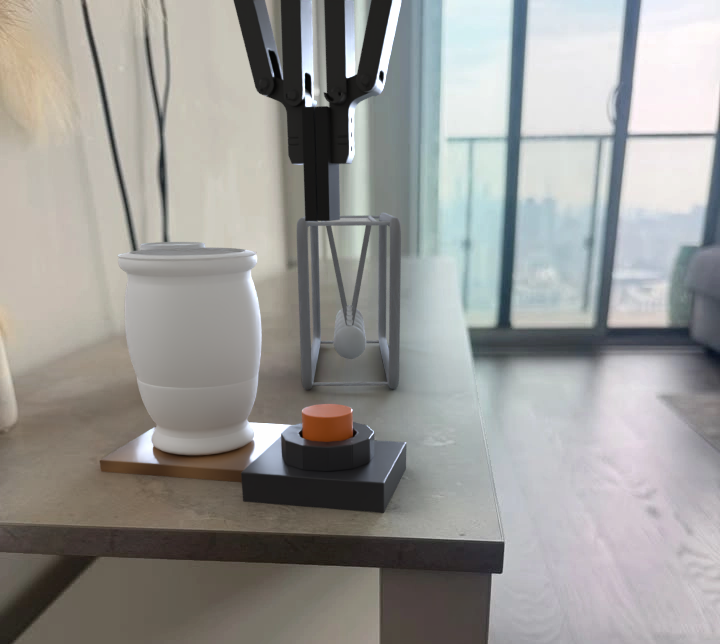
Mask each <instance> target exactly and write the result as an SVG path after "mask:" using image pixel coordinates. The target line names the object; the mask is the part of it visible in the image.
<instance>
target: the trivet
mask: <svg viewBox="0 0 720 644" xmlns="http://www.w3.org/2000/svg"><path fill="white" fill-rule="evenodd" d="M249 423H250V425H251V426H252V428H253V430H254V438H253V439H252V441H251V442H249V443H248V444H246V445H245V446H243V447H240V448H238V449H235V450H231V451H228V452H223V453H218V454H209V455H178V454H172V453H168V452H164V451H161V450H159V449H157V448H156V447H155V446H154V445H153V444H152V441H151V438H152V434H153V432H154V430H155V428H156V425H155V426H153V427H152V428H150V429H148V430H147V431H145V432H143V433H142V434H141V435H139V436H137V437H135V438H134V439H132V440H130V441H129V442H127V443H125V444H123V445H121V446H120V447H118V448H117V449H115V450H114V451H112V452H110V453H109V454H107V455H105V456H104V457H102V458H100V459H99V467H100V472H103V473H117V474H129V475H141V476H142V475H143V476H156V477H167V478H178V479H179V478H180V479H181V478H182V479H192V480H193V479H194V480H205V481H206V480H207V481H219V482H234V483H242V480H241V472H242V471H243V470H244V469H246V468H247V467H248V466H249V465H250V464H251V463H252V462H253V461H254V460H255V459H256V458H257V457H259V456H260V455H261V454H262V453H263V452H264V451H265V450H266V449H267V448H268V447H269V446H270V445H272V444H273V443H274V442H275V441H276V440H277V439H278V438H279V437H280V436H281V433H282V432H283V431H284V430H285V429H286V428H287V427H289V426H292V425H293V424H281V423H263V422H249Z"/></svg>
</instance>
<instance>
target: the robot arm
mask: <svg viewBox="0 0 720 644" xmlns="http://www.w3.org/2000/svg"><path fill="white" fill-rule="evenodd" d="M232 1H233V4H234V8H235V12H236V15H237V20H238V25H239V29H240V33H241V36H242V40H243V44H244V48H245V51H246V55H247V61H248V64H249V68H250V72H251V76H252V79H253V83H254V88H255V90H256V92H257V93H258V94H259V95H262V96H264V97H266V98H268V99H269V98H270V99H272V100H274V101H278V102H279V103H280V104H282V105H283V107H284V108H285V112H286V130H287V155H288V158H289V161H290V164H291V165H297V166H303V195H304V217H305V221H318V222H321V221H334V220H340V216H341V201H340V198H341V197H340V196H341V194H340V191H341V189H340V187H341V186H340V165H351V164H352V163H353V160H354V157H355V111H356V108H357V106H358V105H359V104H360V103H361V102H363V101H365V100H367V99H369V98H371V97H377V96H380V95H381V93H382V92H383V90H384V87H385V83H386V78H387V73H388V67H389V64H390V63H389V62H390V58H391V54H392V48H393V43H394V38H395V36H396V35H395V34H396V30H397V25H398V19H399V14H400V10H401V6H402V1H403V0H370V6H369V9H368V10H369V11H368V15H367V21H366V25H365V31H364V35H363V40H362V45H361V50H360V56H359V62H358V66H357V72H356V44H355V42H356V39H355V38H356V37H355V36H356V35H355V34H356V33H355V0H323V3H324V4H323V5H324V6H323V7H324V40H325V42H324V43H325V46H324V47H325V73H326V74H325V76H326V77H325V79H326V83H325V84H326V91H325V92H323V97H324V98H325V100H326V102H328V105H322V106H321V105H320V106H317V104H318V101H317V100H316V99H315V97H314V95H315V93H314V92H315V90H314V46H313V45H314V42H313V0H280V23H281V26H280V27H281V53H282V54H281V55H282V56H281V57H282V64H281V61H280V57H279V51H278V48H277V43H276V39H275V36H274V32H273V31H274V30H273V28H272V23H271V19H270V15H269V10H268V7H267V3H266V0H232Z"/></svg>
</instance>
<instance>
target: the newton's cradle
mask: <svg viewBox="0 0 720 644" xmlns="http://www.w3.org/2000/svg"><path fill="white" fill-rule="evenodd" d="M377 219H378V220H377ZM401 225H402V224H401V221H400V219H399V218H398V217H397V216H394V215H391V214H389V213H386V212H381V213H379V215H377V214H376V215H374V214H373V215H370V214H369V215H366V214H365V215H340V220H334V221H305V216H302V217H300V218H299V219H298V220H297V223H296V258H297V289H298V290H297V291H298V292H297V293H298V313H299V314H298V317H299V318H298V319H299V322H298V323H299V347H300V349H299V351H300V376H301V377H300V378H301V386H302V388H303V389H304V390H305V391H310V390H311V389H312V388H313V387H361V386H363V387H366V386H369V387H371V386H373V387H374V386H388V388H389V389H390V390H396V389H398V387H399V383H400V353H401V351H400V349H401V341H400V340H401V281H402V279H401V273H402V271H401V270H402V226H401ZM324 226H325V229H326V234H327V239H328V243H329V248H330V253H331V258H332V263H333V267H334V273H335V279H336V282H337V288H338V293H339V297H340V303H341V309H339V311H338V312H337V314H336V316H335V322H334V333H333V340H322V331H321V330H322V327H321V322H322V321H321V285H320V282H321V281H320V242H319V241H320V238H319V227H324ZM332 226H333V227H336V226H337V227H339V226H341V227H342V226H343V227H344V226H345V227H346V226H348V227H349V226H352V227H353V226H358V227H359V226H365V228H364V234H363V239H362V245H361V251H360V255H359V256H360V257H359V261H358V267H357V272H356V277H355V284H354V290H353V296H352V301H351V304H348V303H347V298H346V293H345V288H344V283H343V278H342V273H341V267H340V263H339V257H338V253H337V247H336V242H335V237H334V232H333V227H332ZM372 226H378V278H377V279H378V286H377V287H378V291H377V295H378V300H377V305H378V306H377V307H378V309H377V314H378V315H377V319H378V320H377V321H378V322H377V325H378V326H377V328H378V330H377V331H378V333H377V334H378V337H377V338H378V339H377V340H375V339H374V340H373V339H372V340H367V338H366V329H365V322H364V316H363V314H362V312H361V311H360V310H359V309H358V303H359V296H360V292H361V286H362V280H363V275H364V270H365V263H366V259H367V254H368V253H367V252H368V247H369V242H370V237H371V230H372ZM388 227H389V297H388V298H389V299H388V301H389V302H388V304H389V305H388V306H389V307H388V309H389V310H388V341H387V272H388V271H387V270H388V269H387V267H388V266H387V265H388V264H387V263H388V262H387V258H388V256H387V255H388ZM309 238H310V261H309ZM309 262H310V265H309ZM310 275H311V277H310ZM310 278H311V295H310ZM310 296H311V297H310ZM310 299H311V300H310ZM311 311H312V315H311ZM311 316H312V330H311ZM311 331H312V332H311ZM311 335H312V337H311ZM321 344H326V345H327V344H332V345H333V347H334V350H335V352H336V353H337V354H338V356H340V357H342V358H344V359H347V360H352V359H356V358H359V357H360V356H362V354H363V353H364V351H365V350H366V347H367V344H378V345H379V351H380V355H381V359H382V363H383V369H384V373H385V377H386V381H334V382H333V381H331V382H330V381H328V382H327V381H325V382H323V381H321V382H319V381H318V382H315V381H314V380H315V376H316V375H315V374H316V370H317V364H318V358H319V353H320V347H321Z"/></svg>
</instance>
